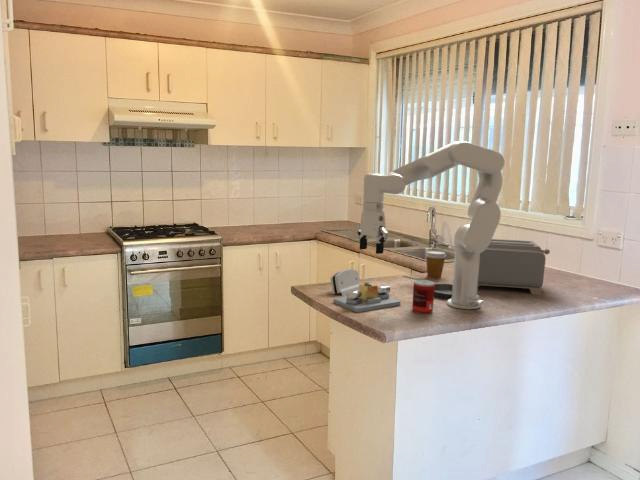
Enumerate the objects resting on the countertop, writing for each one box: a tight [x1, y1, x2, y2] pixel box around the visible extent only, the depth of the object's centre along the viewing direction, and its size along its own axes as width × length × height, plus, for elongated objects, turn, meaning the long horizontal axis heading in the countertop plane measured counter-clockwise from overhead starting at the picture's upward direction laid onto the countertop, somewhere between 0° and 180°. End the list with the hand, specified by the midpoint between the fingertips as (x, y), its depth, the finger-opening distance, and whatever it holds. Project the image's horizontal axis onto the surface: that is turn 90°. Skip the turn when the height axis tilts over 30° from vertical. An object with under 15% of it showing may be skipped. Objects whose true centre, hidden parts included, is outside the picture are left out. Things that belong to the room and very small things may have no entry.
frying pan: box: [402, 275, 453, 300], centre depth 241 cm, size 18×32×4 cm, turn 46°
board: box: [332, 296, 402, 313], centre depth 218 cm, size 21×15×3 cm
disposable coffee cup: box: [425, 250, 447, 280], centre depth 266 cm, size 10×10×12 cm
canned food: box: [411, 279, 436, 315], centre depth 211 cm, size 8×8×11 cm
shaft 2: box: [377, 285, 391, 300], centre depth 222 cm, size 6×4×6 cm
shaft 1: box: [346, 290, 362, 305], centre depth 213 cm, size 6×4×6 cm
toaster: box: [478, 238, 551, 296], centre depth 251 cm, size 19×35×20 cm, turn 81°
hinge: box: [330, 268, 363, 297], centre depth 236 cm, size 17×5×10 cm, turn 142°
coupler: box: [359, 281, 379, 302], centre depth 218 cm, size 5×5×7 cm
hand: (371, 251), depth 216 cm, fingers open, 9 cm apart
